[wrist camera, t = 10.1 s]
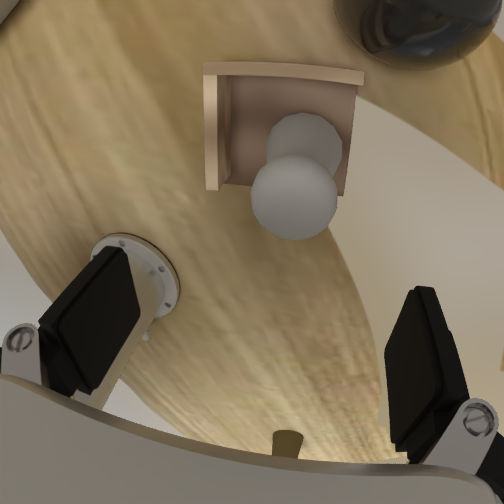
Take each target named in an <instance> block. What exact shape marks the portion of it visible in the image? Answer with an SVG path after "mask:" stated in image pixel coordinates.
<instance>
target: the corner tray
mask: <svg viewBox="0 0 504 504" xmlns="http://www.w3.org/2000/svg"><path fill="white" fill-rule="evenodd" d="M363 84H364V72H362V71H356V70H349V69H342V68H334V67H325V66H316V65H305V64H293V63H276V62H203V85H204V144H205V175H206V190H217V191H218V190H219V189H220V188H221V186H222V185H223V184H236V185H247V186H252V185H253V183H254V180H255V178H256V176H257V173H258V172H259V170H260V169H261V168H262V167H263V166H264V165H266V164H267V156H266V142H267V139H268V137H269V135H270V132H271V130H272V127H274V126H275V125H276V124H277V123H278V122H279V121H280V120H282V119H283V118H284V117H285V116H289V115H293V114H297V113H302V112H303V113H308V114H313V115H319V116H321V117H322V118H323V119H325V120H326V121H327V122H329V123H330V124H331V125H332V126H334V128H335V130H336V131H337V133H338V135H339V137H340V139H341V141H342V159H341V161H340V163H339V165H338V168H337V170H336V172H335V174H334V176H333V180H334V182H335V183H336V186H337V196H343V194H344V188H345V180H346V174H347V167H348V158H349V151H350V144H351V134H352V127H353V117H354V108H355V97H356V86H357V85H361V86H363Z"/></svg>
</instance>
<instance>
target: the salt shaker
mask: <svg viewBox="0 0 504 504" xmlns="http://www.w3.org/2000/svg"><path fill="white" fill-rule="evenodd" d="M266 156H267V164H266V165H264V166H263V167H262V168H261V169H260V170H259V172H258V173H257V176H256V178H255V180H254V183H253V185H252V188H251V203H252V211H253V213H254V215H255V217H256V218H257V220H258V221H259V223H260V225H261V226H262V227H263V228H264V229H266V230H267V231H269V232H270V233H272V234H273V235H275V236H276V237H280V238H284V239H289V240H293V241H296V240H302V239H307V238H312V237H314V236H315V235H317V234H318V233H320V232H321V231H323V230H324V229H326V228H327V227H328V225H329V223H330V221H331V219H332V217H333V216H334V214H335V211H336V209H337V186H336V183H335V182H334V180H333V176H334V174H335V172H336V170H337V168H338V165H339V163H340V161H341V159H342V141H341V139H340V137H339V135H338V133H337V131H336V130H335V128H334V126H332V125H331V124H330V123H329V122H327V121H326V120H325V119H323V118H322V117H321V116H319V115H313V114H308V113H303V112H302V113H297V114H293V115H289V116H285V117H284V118H283V119H282V120H280V121H279V122H278V123H277V124H276V125H275V126H274V127H272V130H271V132H270V135H269V137H268V139H267V142H266Z"/></svg>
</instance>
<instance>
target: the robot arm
mask: <svg viewBox="0 0 504 504" xmlns="http://www.w3.org/2000/svg"><path fill="white" fill-rule="evenodd" d="M179 291H180V288H179V281H178V278H177V276H176V273H175V271H174V269H173V267H172V266H171V264H170V263H169V261H168V260H167V259H166V258H165V256H164V255H163V254H162V253H161V252H160V251H159V250H157V249H156V248H155V247H154V246H152V245H151V244H149V243H148V242H146V241H144V240H142V239H141V238H138V237H135V236H132V235H128V234H123V233H121V234H111V235H108V236H106V237H104V238H103V239H101V240H100V241H99V242H98V243H97V244H96V245H95V247H94V248H93V250H92V252H91V256H90V262H89V263H88V265H87V266H86V267H85V268H84V269H83V270H82V271H81V272H80V273H79V274H78V275H77V277H76V278H75V279H74V280H73V281H72V282H71V283H70V284H69V285H68V287H67V288H66V289H65V290H64V291H63V292H62V293H61V294H60V296H59V297H58V298H57V299H56V300H55V301H54V303H53V304H52V305H51V306H50V307H49V309H48V310H47V311H46V312H45V313H44V314H43V316H42V317H41V318H40V319H39V321H38V322H39V324H40V327H39V328H38V329H37V328H36V327H35V326H34V325H32V324H28V323H24V324H20V325H17V326H15V327H14V328H12V329H11V330H10V331H9V332H8V333H7V334H6V336H5V338H4V340H3V344H2V347H0V504H504V437H503V436H502V435H501V434H499V433H498V432H497V430H498V426H499V424H498V416H497V413H496V411H495V410H494V408H493V407H492V406H491V405H490V404H489V403H488V402H486V401H484V400H482V399H478V398H474V399H470V397H469V393H468V389H467V385H466V381H465V377H464V373H463V369H462V366H461V362H460V359H459V355H458V352H457V348H456V345H455V342H454V339H453V336H452V333H451V332H450V331H449V330H448V327H447V324H446V321H445V318H444V315H443V312H442V309H441V306H440V304H439V301H438V298H437V295H436V292H435V290H434V288H432V287H425V286H416V287H415V288H414V290H410V291H409V292H408V294H407V297H406V300H405V302H404V305H403V307H402V310H401V312H400V315H399V317H398V319H397V322H396V324H395V326H394V329H393V331H392V333H391V336H390V338H389V340H388V343H387V345H386V347H385V352H384V359H385V368H386V378H387V388H388V401H389V417H390V438H391V442H392V443H395V450H396V452H407V458H408V459H409V460H408V462H407V463H406V464H364V463H344V462H328V461H315V460H305V459H295V458H287V457H280V456H272V455H266V454H260V453H254V452H248V451H242V450H237V449H232V448H227V447H222V446H217V445H213V444H209V443H204V442H200V441H196V440H192V439H188V438H184V437H180V436H177V435H173V434H169V433H166V432H163V431H159V430H156V429H153V428H150V427H146V426H143V425H140V424H137V423H134V422H131V421H128V420H125V419H122V418H120V417H117V416H114V415H111V414H109V413H106V412H103V411H102V409H103V407H104V405H105V403H106V401H107V399H108V397H109V395H110V393H111V391H112V390H113V388H114V386H115V384H116V382H117V381H118V379H119V377H120V375H121V373H122V372H123V370H124V368H125V366H126V364H127V363H128V361H129V359H130V357H131V355H132V354H133V352H134V350H135V348H136V347H137V345H138V343H139V341H140V340H141V339H142V340H143V341H147V340H149V339H150V337H151V336H150V333H149V330H148V328H149V326H150V325H151V323H152V321H153V319H154V318H159V317H163V316H165V315H167V314H168V313H169V312H170V311H171V310H172V309H173V308H174V306H175V305H176V303H177V301H178V298H179Z"/></svg>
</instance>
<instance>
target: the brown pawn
mask: <svg viewBox="0 0 504 504" xmlns="http://www.w3.org/2000/svg"><path fill="white" fill-rule="evenodd" d="M303 438H304V437H303V435H302V434H300V433H298V432H295V431H291V430H279V431H276V432H274V433H273V445H272V456H280V457H287V458H295V459H297V458H298V455H299V451H300V448H301V445H302V441H303Z"/></svg>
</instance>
